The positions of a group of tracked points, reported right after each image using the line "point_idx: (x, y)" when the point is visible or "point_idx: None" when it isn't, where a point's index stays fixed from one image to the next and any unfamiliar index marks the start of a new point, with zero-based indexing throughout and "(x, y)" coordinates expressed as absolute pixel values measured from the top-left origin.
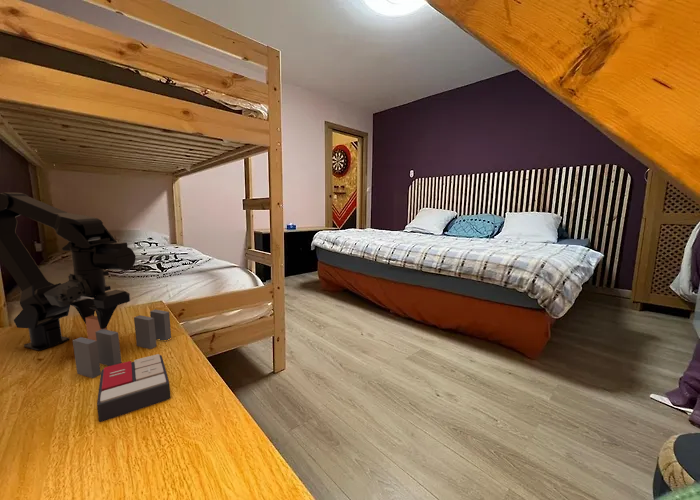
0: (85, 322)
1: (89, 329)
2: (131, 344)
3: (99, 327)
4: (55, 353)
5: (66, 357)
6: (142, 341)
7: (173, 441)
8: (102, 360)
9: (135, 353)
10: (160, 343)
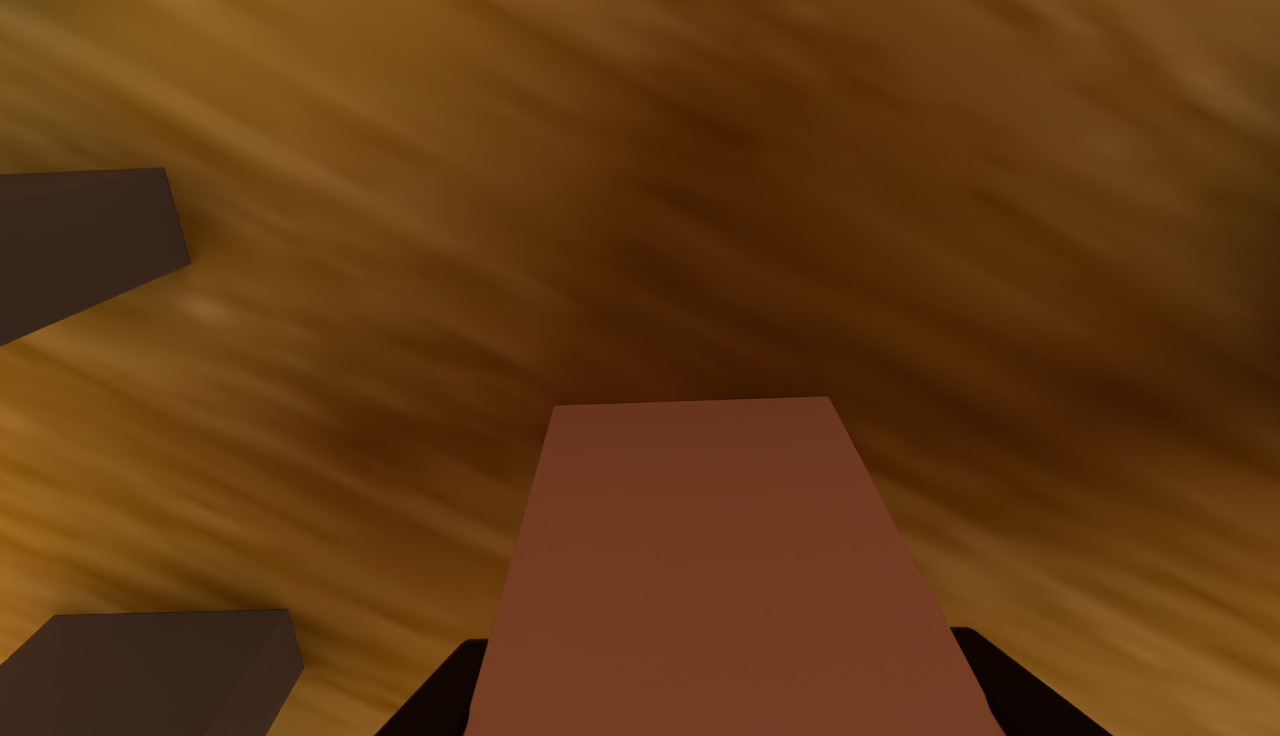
0: (998, 679)
1: (826, 569)
2: (384, 610)
3: (491, 650)
4: (1085, 85)
5: (784, 79)
6: (127, 672)
7: None
8: (48, 179)
9: (84, 496)
10: None
